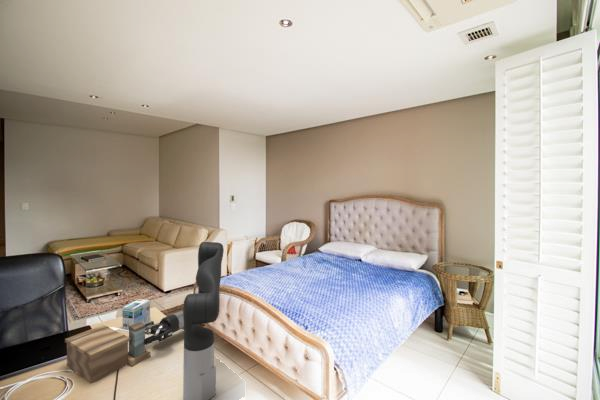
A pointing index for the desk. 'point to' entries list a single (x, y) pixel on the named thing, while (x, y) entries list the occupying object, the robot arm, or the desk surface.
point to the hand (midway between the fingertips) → (137, 339)
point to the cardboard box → (100, 353)
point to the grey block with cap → (136, 339)
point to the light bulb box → (136, 313)
